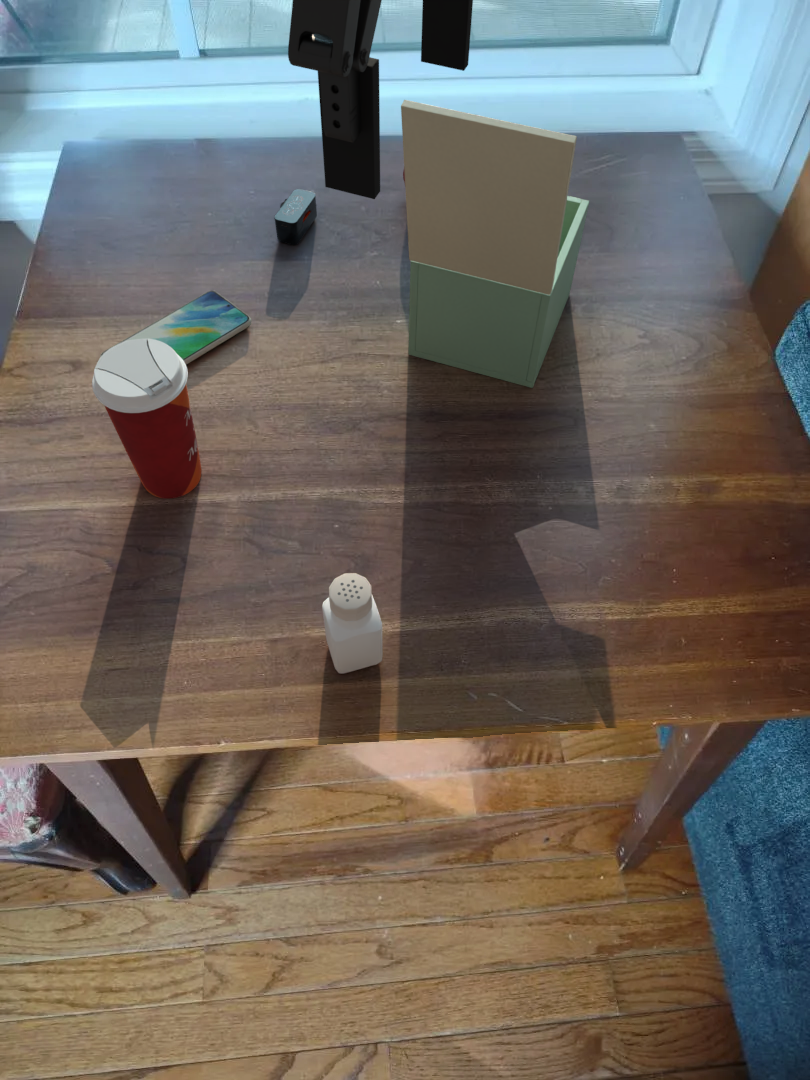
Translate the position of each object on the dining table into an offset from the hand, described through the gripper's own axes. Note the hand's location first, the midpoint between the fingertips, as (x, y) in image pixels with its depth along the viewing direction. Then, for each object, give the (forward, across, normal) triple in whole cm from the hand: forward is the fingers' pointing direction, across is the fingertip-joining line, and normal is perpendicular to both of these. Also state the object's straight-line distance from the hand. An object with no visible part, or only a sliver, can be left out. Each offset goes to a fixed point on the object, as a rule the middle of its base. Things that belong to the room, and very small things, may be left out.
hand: (402, 122), depth 47 cm
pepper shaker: (+38, +13, +2) cm, 40 cm away
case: (+38, -29, 0) cm, 47 cm away
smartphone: (+38, -13, -30) cm, 50 cm away
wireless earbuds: (+38, -36, -28) cm, 59 cm away
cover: (+17, -20, 0) cm, 26 cm away
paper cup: (+38, +3, -22) cm, 44 cm away
